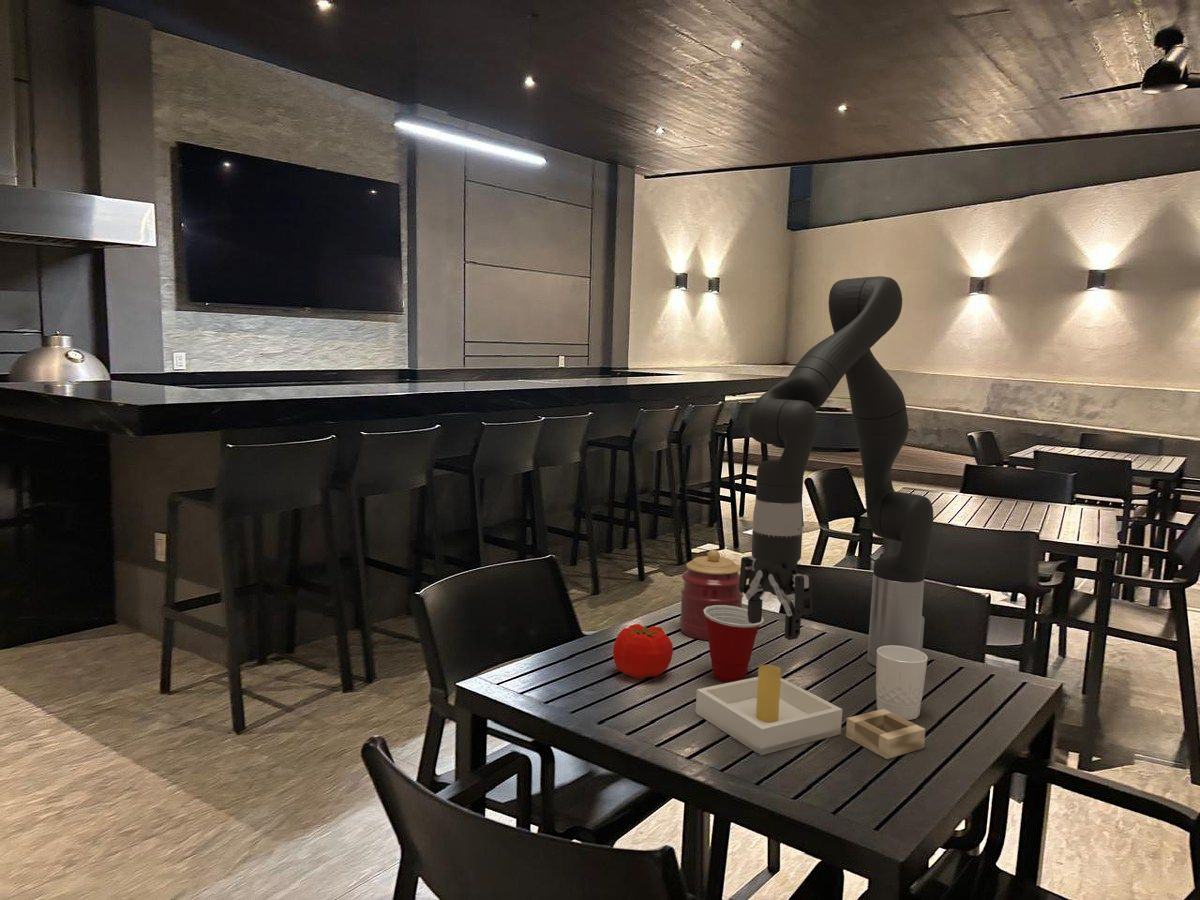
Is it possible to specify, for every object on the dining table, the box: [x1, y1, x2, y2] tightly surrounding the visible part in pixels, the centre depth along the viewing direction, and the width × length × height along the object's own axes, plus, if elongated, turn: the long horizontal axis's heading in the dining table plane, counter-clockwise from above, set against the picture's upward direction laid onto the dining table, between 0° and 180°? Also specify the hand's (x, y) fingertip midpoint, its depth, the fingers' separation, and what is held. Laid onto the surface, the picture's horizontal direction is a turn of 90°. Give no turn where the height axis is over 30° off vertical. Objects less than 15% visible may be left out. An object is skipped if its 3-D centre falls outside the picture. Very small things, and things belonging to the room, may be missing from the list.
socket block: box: [845, 709, 926, 760], centre depth 126 cm, size 8×8×3 cm
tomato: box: [612, 623, 674, 679], centre depth 150 cm, size 11×11×9 cm
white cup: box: [875, 645, 929, 721], centre depth 137 cm, size 8×8×10 cm
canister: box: [679, 549, 744, 641], centre depth 174 cm, size 13×13×18 cm
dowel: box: [756, 664, 782, 722], centre depth 130 cm, size 4×4×8 cm
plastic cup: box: [704, 605, 765, 683], centre depth 149 cm, size 11×11×12 cm
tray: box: [695, 676, 843, 756], centre depth 131 cm, size 16×16×4 cm
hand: (772, 630), depth 129 cm, fingers open, 8 cm apart
